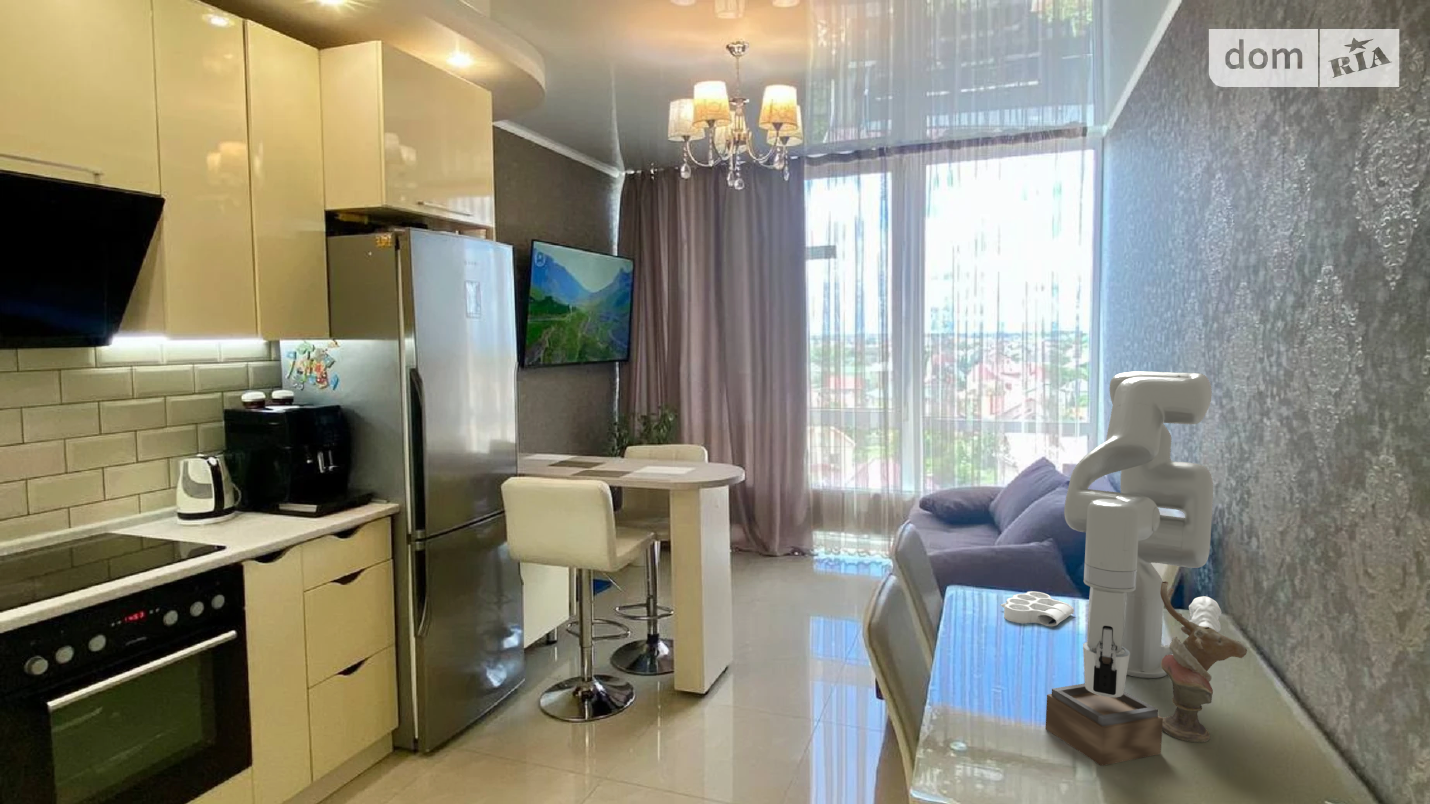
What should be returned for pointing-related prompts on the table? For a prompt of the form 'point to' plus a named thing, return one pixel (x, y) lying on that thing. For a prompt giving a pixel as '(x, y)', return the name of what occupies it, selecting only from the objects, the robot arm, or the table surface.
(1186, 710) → the decorative bust
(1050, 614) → the white flat perforated piece
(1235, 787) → the table surface
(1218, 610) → the white lumpy piece
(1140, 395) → the robot arm
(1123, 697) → the display riser
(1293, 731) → the table surface
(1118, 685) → the white short cylinder
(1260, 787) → the table surface
